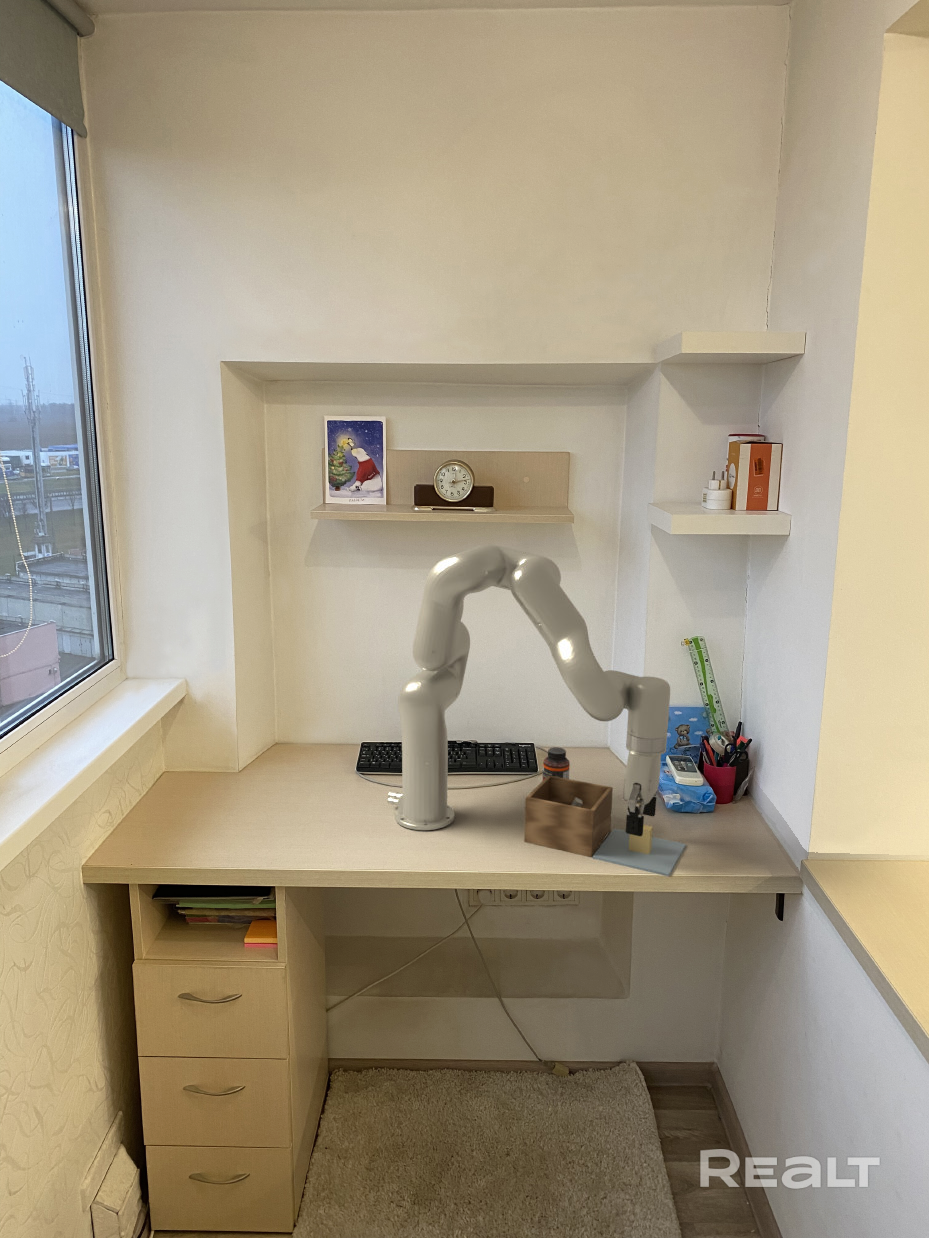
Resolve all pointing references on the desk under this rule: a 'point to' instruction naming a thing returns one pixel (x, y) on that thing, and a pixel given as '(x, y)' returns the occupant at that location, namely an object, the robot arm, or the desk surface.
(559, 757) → the supplement bottle
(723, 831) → the desk surface
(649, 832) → the lid
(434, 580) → the robot arm
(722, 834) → the desk surface
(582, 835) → the box
